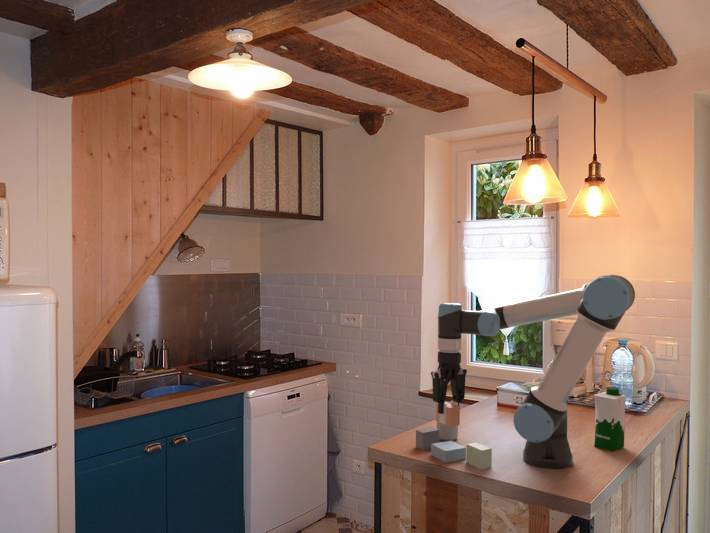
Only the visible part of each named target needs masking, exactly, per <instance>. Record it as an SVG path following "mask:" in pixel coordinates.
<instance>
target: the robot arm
mask: <svg viewBox="0 0 710 533" xmlns="http://www.w3.org/2000/svg"><path fill="white" fill-rule="evenodd" d="M635 299H636V292H635V288H634V286H633V284H632V283H631V282H630V281H629V280H628V279H627V278H626V277H623V276H621V275H618V274H617V275H615V274H609V275H607V274H606V275H601V276H598V277H596V278H594V279H593V280H591V281H590V282H589V283H585V284H584V283H583V285H582V287H581V288H577V289H573V290H572V289H571V290H567V291H563V292H559V293H555V294H550V295H545V296H539V297H535V298H531V299H527V300H521V301H518V302H513V303H509V304H504V305H500V306H494V307H489V308H487V309H481V310H465V309H463V306H462V304H461V303H459V302H458V303H456V302H442V303H440V304H439V306H438V312H437V313H438V314H437V325H438V326H437V328H438V329H437V349H438V351H437V362H438V366H437V369H436V370H435V371H431V372H430V375H431V379H432V401H433V402H435V403H438V413H439V423H442V424H446V419H447V404H445V402H446V397H447V391H448V386H449V384H450V390H451V396H452V400H450V403H451V404H453V405H457V406H459V407H460V403H462V401H463V400H464V399H465V395H466V394H465V393H466V391H465V390H466V376H467V373H468V369H467V368H462V367H461V365H460V364H461V363H462V352H461V350H462V334H463V335H476V336H483V337H487V336H488V337H489V336H491V337H494V336H497V335H498V332H500V330H505V329H509V328H515V327H518V326H519V327H520V326H524V325H530V324H534V323H535V324H536V323H540V322H545V321H550V320H555V319H560V318H564V317H570V316H577V318H576V320H575V322H574V324H573V325H572V327H571V329H570V331H569V332H568V334H567V335H566V338H565V340H564V341H563V343H562V345H561V346H560V348H559V350H558V351H557V354H555V357H554V359H553V361H552V362H551V364H550V365H549V367H548V369H547V371H546V373H545V375H544V376H543V377H542V379H541V381H540V383H539V385H536V386H532V387H531V388H530V389H529V391H528V393H527V394H526V397H525V399H524V400H523V402H522V404H520V405H519V406H518V407H517V408H516V410H515V411H514V414H513V420H512V422H513V425H514V428H515V431H516V432H517V434H518V435H519V436H520V437H522V438H523V439H524V440H525V441H526V443H525V447H524V448H523V450H522V451H523V452H522V453H523V454H522V459H523V461H525V462H526V463H528V464H530V465H533V466H536V467H541V468H545V469H546V468H547V469H562V468H569V467H571V466H572V465H573V464H574V463H573V462H574V457H573V453H572V452H571V447H570V444H569V440H568V404H569V397H570V395H571V393H572V391H573V390H574V388H575V386H576V384H577V383H578V381H579V380H580V378H581V376H582V374H583V373H584V371H585V370H586V368H587V366H588V364H589V362H590V361H591V360H592V357H593V356H594V354H595V352H596V350H597V349H598V347H599V346H600V343H601V342H602V341H603V339H604V337H605V335H606V334H607V333H609V332H613V331H616V328H617V326H618V325H619V323H620V322H621V320H622V319H623V317H624V316H625V314H626V312H627V311H628V310H629V309H630V308H631V307H632V306H633V304H634V302H635Z"/></svg>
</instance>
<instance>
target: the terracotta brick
mask: <svg viewBox="0 0 710 533" xmlns="http://www.w3.org/2000/svg"><path fill="white" fill-rule="evenodd" d="M445 404H447V419H446V424H444V425H447V426H449V427H452V426H457V425H458V426H460V424H461V423H460V421H461V420H460V418H461V417H460V416H461V406H460V405H459V406H457V405H453V404H451V402H447V401H445ZM435 405H436V408H435V422H436V423H437V422H439V413H438V403H437V402H435ZM441 424H442V423H441Z"/></svg>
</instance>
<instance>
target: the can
mask: <svg viewBox="0 0 710 533" xmlns="http://www.w3.org/2000/svg"><path fill="white" fill-rule="evenodd" d="M436 429H439V441H440V440H441V441H443V442H446V441H453V442H454V441H455V440H456V439H457V438H458V437H459V425H457V426H452V427H449V426H447V425H444V424H441V423H439V422H436Z"/></svg>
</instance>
